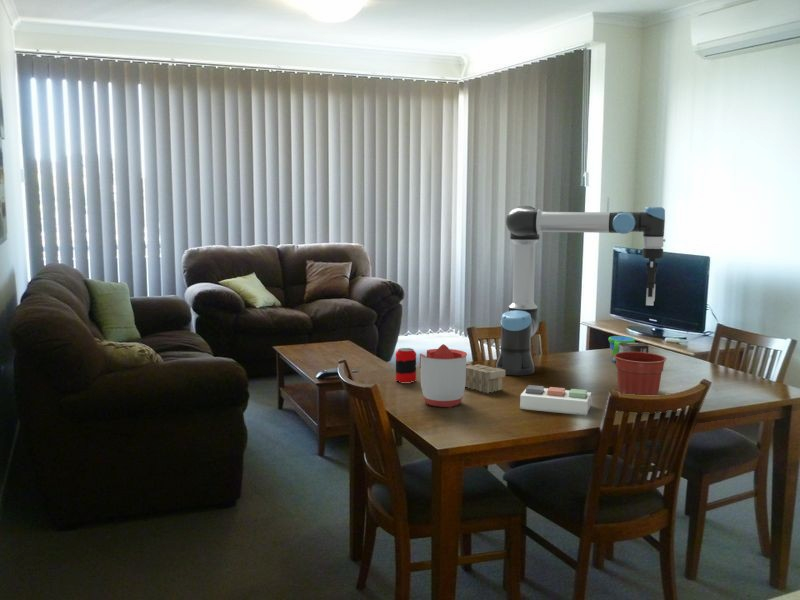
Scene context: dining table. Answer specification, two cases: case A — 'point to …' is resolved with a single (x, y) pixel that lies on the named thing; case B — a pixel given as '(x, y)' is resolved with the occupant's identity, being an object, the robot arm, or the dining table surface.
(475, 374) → the block tower
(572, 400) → the key panel
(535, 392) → the charcoal key
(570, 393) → the sage key
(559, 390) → the brick key
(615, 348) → the snack cup
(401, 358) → the soda can
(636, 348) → the coffee box
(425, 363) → the citrus juicer
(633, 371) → the flower pot
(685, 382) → the dining table surface
